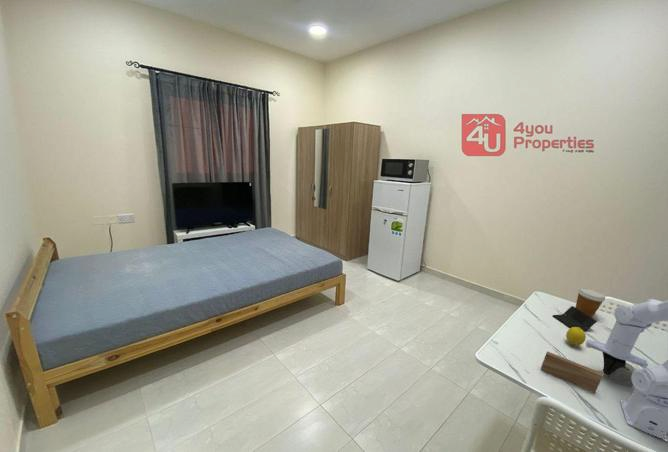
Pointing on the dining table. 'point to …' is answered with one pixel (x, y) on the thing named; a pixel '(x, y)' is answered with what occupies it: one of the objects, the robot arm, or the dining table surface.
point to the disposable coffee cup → (589, 300)
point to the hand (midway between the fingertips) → (605, 372)
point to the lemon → (575, 336)
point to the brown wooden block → (571, 372)
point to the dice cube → (623, 375)
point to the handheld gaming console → (576, 319)
